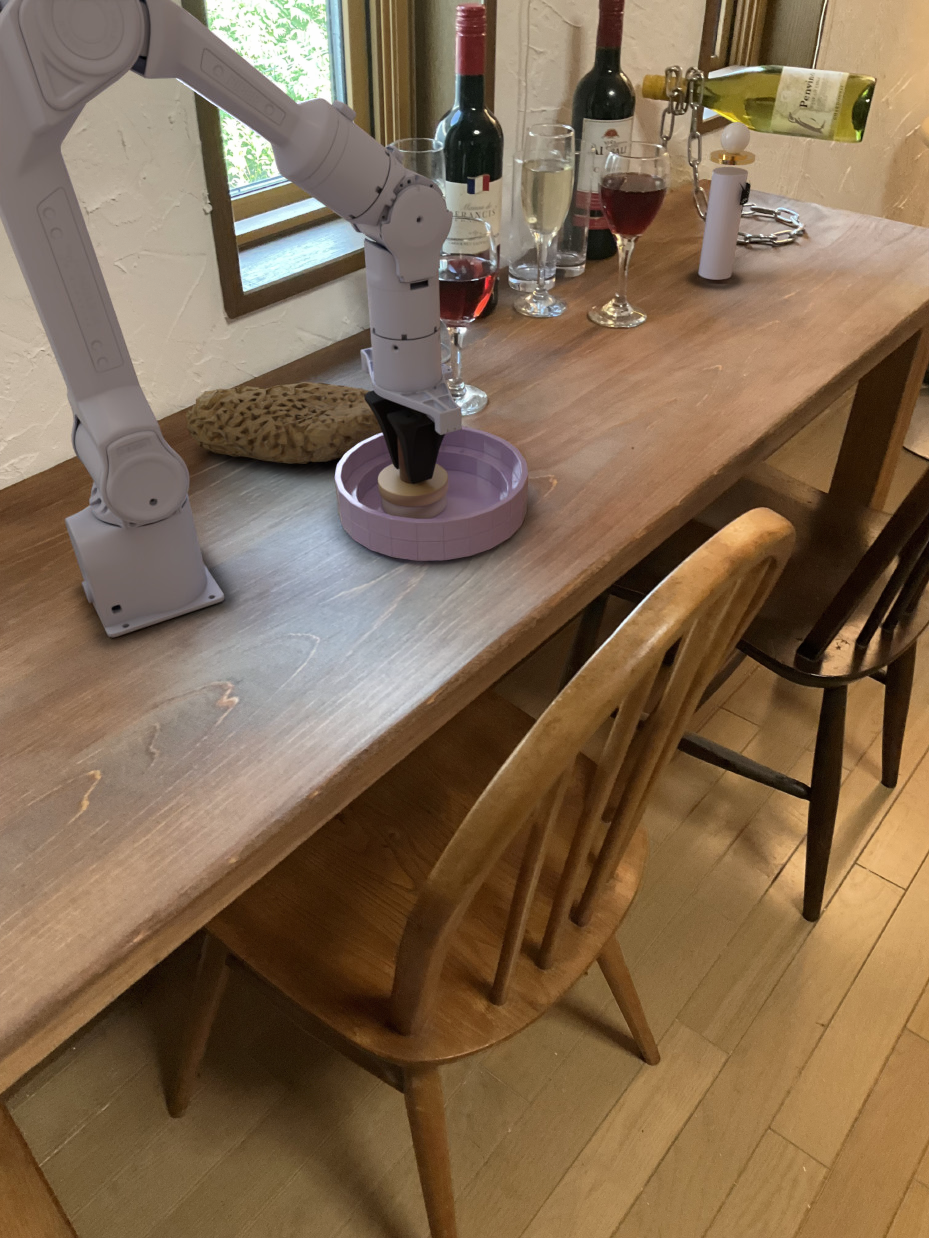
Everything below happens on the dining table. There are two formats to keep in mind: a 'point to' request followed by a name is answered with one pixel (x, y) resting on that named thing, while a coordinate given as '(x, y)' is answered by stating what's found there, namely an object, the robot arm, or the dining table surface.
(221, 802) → the dining table surface
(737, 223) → the white cylinder with ball
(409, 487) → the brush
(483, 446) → the bowl
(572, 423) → the dining table surface
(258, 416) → the sponge
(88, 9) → the robot arm
